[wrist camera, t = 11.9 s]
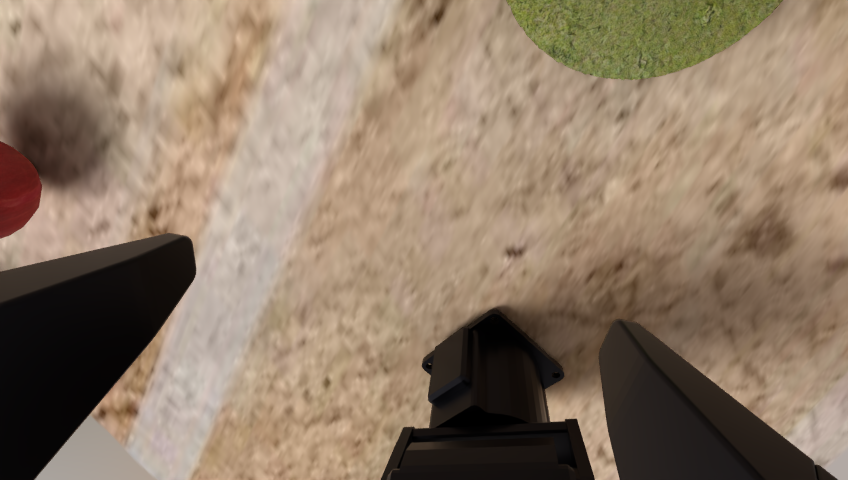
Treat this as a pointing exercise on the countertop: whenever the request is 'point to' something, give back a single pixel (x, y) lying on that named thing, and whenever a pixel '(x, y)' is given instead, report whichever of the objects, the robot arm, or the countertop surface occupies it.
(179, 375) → the countertop surface
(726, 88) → the countertop surface
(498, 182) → the countertop surface
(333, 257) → the countertop surface
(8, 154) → the onion
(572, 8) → the mat
